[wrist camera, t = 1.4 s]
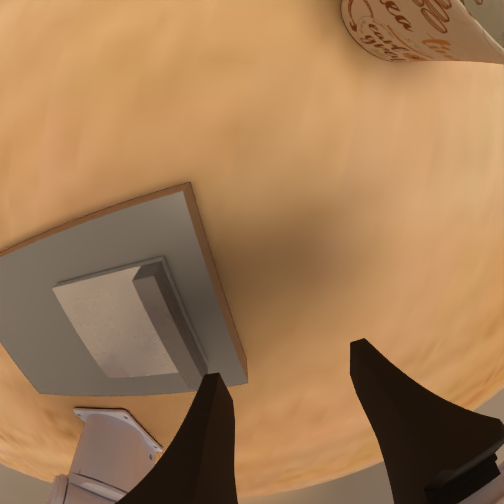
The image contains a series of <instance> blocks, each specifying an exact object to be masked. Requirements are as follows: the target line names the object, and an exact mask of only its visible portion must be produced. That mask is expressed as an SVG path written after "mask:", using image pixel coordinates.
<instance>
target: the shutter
mask: <svg viewBox="0 0 504 504" xmlns="http://www.w3.org/2000/svg"><path fill="white" fill-rule="evenodd" d="M52 289H53V291H54V293H55V295H56V297H57V299H58V301H59V302H60V304H61V306H62V308H63V310H64V311H65V313H66V315H67V317H68V318H69V320H70V322H71V323H72V325H73V327H74V328H75V330H76V332H77V333H78V335H79V337H80V338H81V340H82V341H83V343H84V344H85V346H86V347H87V349H88V350H89V352H90V353H91V355H92V356H93V358H94V359H95V361H96V362H97V363H98V365H99V366H100V368H101V369H102V370H103V372H104V373H105V375H106V376H107V377H108V378H124V377H138V376H150V375H160V374H170V373H178V372H179V374H180V375H181V377H182V379H183V380H184V382H185V384H186V385H187V387H188V389H193V388H199V386H200V384H201V381H202V379H203V376H204V375H205V374H208V365H209V362H208V360H207V357H206V355H205V353H204V351H203V349H202V347H201V344H200V342H199V340H198V338H197V336H196V333H195V331H194V329H193V327H192V324H191V322H190V320H189V317H188V315H187V313H186V310H185V308H184V306H183V303H182V301H181V298H180V296H179V294H178V291H177V289H176V286H175V284H174V281H173V279H172V276H171V273H170V271H169V268H168V266H167V263H166V260H165V258H164V256H161V257H157V258H153V259H149V260H145V261H141V262H137V263H133V264H129V265H126V266H122V267H118V268H114V269H110V270H106V271H102V272H98V273H95V274H91V275H87V276H83V277H79V278H76V279H72V280H68V281H64V282H61V283H57V284H56V285H55V286H54V287H53V288H52Z"/></svg>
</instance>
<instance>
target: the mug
mask: <svg viewBox="0 0 504 504" xmlns="http://www.w3.org/2000/svg"><path fill="white" fill-rule="evenodd" d="M341 13H342V18H343V21H344V23H345V25H346V27H347V29H348V31H349V32H350V34H351V35H352V36H353V38H354V39H355V40H356V41H357V42H358V43H359V44H360V45H361V46H362V47H363V48H364V49H366V50H367V51H368V52H370V53H372V54H373V55H375V56H377V57H379V58H381V59H384V60H388V61H392V62H412V61H472V62H486V63H496V64H504V0H342V3H341Z"/></svg>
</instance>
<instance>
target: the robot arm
mask: <svg viewBox="0 0 504 504" xmlns="http://www.w3.org/2000/svg"><path fill="white" fill-rule="evenodd" d="M350 376H351V379H352V382H353V385H354V388H355V391H356V394H357V396H358V398H359V400H360V402H361V404H362V407H363V409H364V411H365V413H366V415H367V417H368V419H369V422H370V424H371V426H372V428H373V430H374V432H375V435H376V437H377V440H378V442H379V445H380V449H381V452H382V455H383V458H384V462H385V465H386V469H387V472H388V477H389V481H390V485H391V489H392V494H393V499H394V504H504V462H502V463H501V464H500V465H498V466H497V465H496V463H495V461H496V460H497V456H496V454H495V452H496V451H497V450H498V449H499V448H500V447H501V446H502V445H503V444H504V424H503V423H502V422H501V421H500V419H497V418H493V417H489V416H485V415H481V414H478V413H475V412H472V411H470V410H467V409H464V408H462V407H460V406H458V405H455V404H453V403H451V402H449V401H447V400H445V399H443V398H441V397H439V396H437V395H436V394H434V393H432V392H431V391H429V390H427V389H426V388H424V387H423V386H421V385H420V384H418V383H417V382H415V381H414V380H413V379H411V378H410V377H408V376H407V375H406V374H405V373H403V372H402V371H401V370H400V369H398V368H397V367H396V366H395V365H393V364H392V363H391V362H390V361H389V360H388V359H387V358H385V357H384V356H383V355H382V354H381V353H380V352H379V351H378V350H377V349H376V348H375V347H374V346H373V345H371V344H370V343H369V342H368V341H367V340H366V339H365V338H363V339H360V340H357V341H354V342H350ZM73 412H74V413H75V414H76V415H77V416H78V417H79V418H80V419H81V420H82V421H83V422H84V423H85V424H84V427H83V430H82V433H81V436H80V439H79V442H78V445H77V448H76V451H75V455H74V458H73V461H72V464H71V468H70V471H69V474H68V475H67V476H66V475H64V474H60V475H58V476H55V478H54V480H53V483H52V486H51V489H50V492H49V495H48V499H47V504H238V501H237V493H236V485H235V475H234V446H235V416H234V407H233V400H232V398H231V396H230V394H229V392H228V390H227V387H226V385H225V383H224V381H223V379H222V377H221V375H220V373H219V372H218V373H211V374H205V375H204V376H203V379H202V381H201V384H200V386H199V389H198V391H197V394H196V396H195V398H194V400H193V403H192V405H191V407H190V409H189V411H188V413H187V415H186V417H185V419H184V421H183V423H182V425H181V427H180V429H179V430H178V432H177V434H176V436H175V437H174V439H173V441H172V442H171V444H170V445H169V447H168V448H167V450H166V451H165V453H164V454H163V455H162V457H161V458H160V459H159V461H158V462H157V463H156V464H155V458H156V452H163V448H162V447H161V446H160V445H159V444H158V443H157V442H156V441H155V440H154V439H153V438H152V437H151V436H150V435H149V434H148V433H147V432H146V431H145V430H144V429H143V428H142V427H141V426H140V425H139V424H138V423H137V422H136V421H135V420H134V419H133V417H132V416H131V415H130V414H129V413H128V412H127V411H125V410H112V409H85V408H74V409H73ZM154 465H155V466H154Z"/></svg>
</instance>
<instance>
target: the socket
mask: <svg viewBox="0 0 504 504" xmlns="http://www.w3.org/2000/svg"><path fill="white" fill-rule="evenodd" d="M161 256H164V258H165V260H166V263H167V266H168V268H169V271H170V273H171V276H172V279H173V281H174V284H175V286H176V289H177V291H178V294H179V296H180V298H181V301H182V303H183V306H184V308H185V310H186V313H187V315H188V317H189V320H190V322H191V324H192V327H193V329H194V331H195V333H196V336H197V338H198V340H199V342H200V344H201V347H202V349H203V351H204V353H205V355H206V357H207V360H208V362H209V365H208V374H211V373H218V372H219V373H220V375H221V377H222V379H223V381H224V383H225V385H226V387H228V386H235V385H241V384H246V383H248V373H247V359H246V357H245V354H244V351H243V348H242V345H241V342H240V339H239V337H238V334H237V331H236V328H235V325H234V322H233V319H232V316H231V313H230V310H229V307H228V304H227V301H226V298H225V295H224V292H223V289H222V286H221V283H220V279H219V276H218V273H217V270H216V267H215V264H214V261H213V257H212V254H211V251H210V248H209V244H208V241H207V238H206V235H205V231H204V228H203V225H202V221H201V218H200V214H199V211H198V208H197V204H196V201H195V197H194V194H193V190H192V187H191V183H190V182H189V183H185V184H181V185H178V186H175V187H171V188H168V189H164V190H161V191H158V192H155V193H151V194H148V195H145V196H142V197H139V198H136V199H133V200H130V201H127V202H124V203H121V204H118V205H115V206H112V207H109V208H106V209H103V210H101V211H98V212H95V213H92V214H90V215H87V216H84V217H82V218H79V219H76V220H74V221H71V222H69V223H66V224H64V225H61V226H59V227H56V228H54V229H51V230H49V231H47V232H44V233H42V234H40V235H37V236H35V237H33V238H30V239H28V240H26V241H24V242H21V243H19V244H17V245H15V246H13V247H11V248H9V249H6V250H4V251H2V252H0V342H1V344H2V345H3V347H4V348H5V350H6V351H7V352H8V354H9V355H10V357H11V358H12V359H13V361H14V362H15V364H16V365H17V366H18V368H19V369H20V370H21V371H22V373H23V374H24V375H25V377H26V378H27V379H28V380H29V381H30V383H31V384H32V385H33V386H34V388H35V389H36V390H37V391H38V392H39V393H41V394H53V395H70V396H139V395H157V394H170V393H181V392H190V391H198V389H199V388H193V389H188V387H187V385H186V384H185V382H184V380H183V379H182V377H181V375H180V374H179V372H178V373H170V374H160V375H150V376H138V377H124V378H108V377H107V376H106V375H105V373H104V372H103V370H102V369H101V368H100V366H99V365H98V363H97V362H96V361H95V359H94V358H93V356H92V355H91V353H90V352H89V350H88V349H87V347H86V346H85V344H84V343H83V341H82V340H81V338H80V337H79V335H78V333H77V332H76V330H75V328H74V327H73V325H72V323H71V322H70V320H69V318H68V317H67V315H66V313H65V311H64V310H63V308H62V306H61V304H60V302H59V301H58V299H57V297H56V295H55V293H54V291H53V289H52V288H53V287H54V286H55V285H56V284H57V283H61V282H64V281H68V280H72V279H76V278H79V277H83V276H87V275H91V274H95V273H98V272H102V271H106V270H110V269H114V268H118V267H122V266H126V265H129V264H133V263H137V262H141V261H145V260H149V259H153V258H157V257H161Z"/></svg>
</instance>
